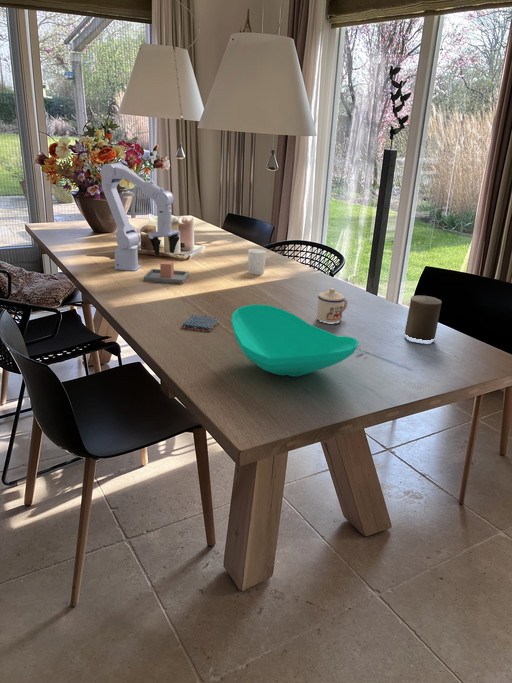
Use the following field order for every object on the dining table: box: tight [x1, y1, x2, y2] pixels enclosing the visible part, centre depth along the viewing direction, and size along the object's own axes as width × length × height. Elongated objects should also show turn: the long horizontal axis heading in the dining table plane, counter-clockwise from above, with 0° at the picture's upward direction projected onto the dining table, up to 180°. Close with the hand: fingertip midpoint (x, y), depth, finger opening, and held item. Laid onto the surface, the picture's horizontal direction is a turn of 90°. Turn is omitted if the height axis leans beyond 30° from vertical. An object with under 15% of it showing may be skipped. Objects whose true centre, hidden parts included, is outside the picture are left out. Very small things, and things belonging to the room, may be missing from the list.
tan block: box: [159, 260, 175, 278], centre depth 231 cm, size 4×4×6 cm
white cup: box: [247, 248, 267, 276], centre depth 246 cm, size 8×8×10 cm
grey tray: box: [143, 268, 190, 285], centre depth 232 cm, size 16×13×2 cm
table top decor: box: [231, 304, 360, 377], centre depth 152 cm, size 40×28×13 cm
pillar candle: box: [404, 295, 442, 340], centre depth 180 cm, size 10×10×15 cm
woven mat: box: [181, 314, 220, 333], centre depth 183 cm, size 10×11×2 cm
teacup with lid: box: [316, 287, 348, 322], centre depth 193 cm, size 12×9×12 cm
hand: (164, 253), depth 235 cm, fingers open, 7 cm apart
